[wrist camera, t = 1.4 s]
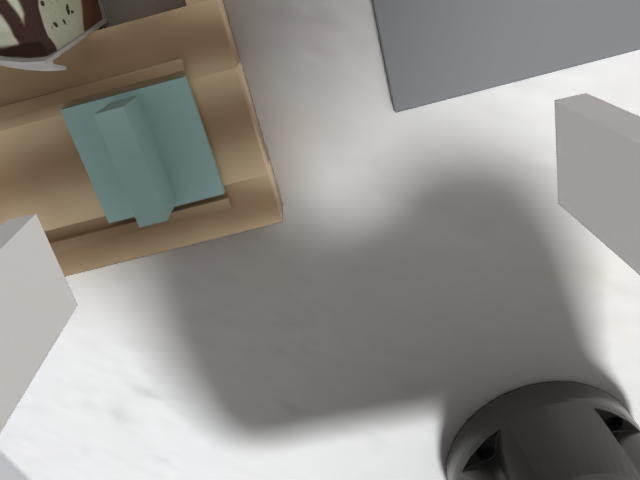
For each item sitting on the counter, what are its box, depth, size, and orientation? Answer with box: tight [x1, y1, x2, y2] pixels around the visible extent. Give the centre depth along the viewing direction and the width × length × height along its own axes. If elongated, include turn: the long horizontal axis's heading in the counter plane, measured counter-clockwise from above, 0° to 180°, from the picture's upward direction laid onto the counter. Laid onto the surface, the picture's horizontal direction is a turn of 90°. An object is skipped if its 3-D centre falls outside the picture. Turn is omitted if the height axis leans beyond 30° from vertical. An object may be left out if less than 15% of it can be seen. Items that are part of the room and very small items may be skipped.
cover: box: [60, 75, 225, 228], centre depth 31 cm, size 7×7×4 cm
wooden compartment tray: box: [0, 0, 283, 276], centre depth 31 cm, size 24×18×4 cm
